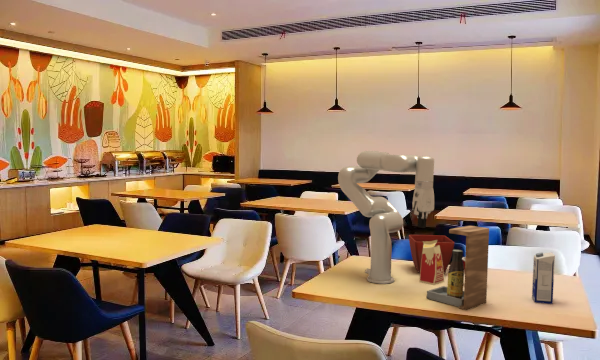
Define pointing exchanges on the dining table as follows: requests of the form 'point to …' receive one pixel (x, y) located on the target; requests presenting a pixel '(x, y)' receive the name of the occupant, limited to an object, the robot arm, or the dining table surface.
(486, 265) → the wooden c-shaped stand
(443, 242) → the plant pot
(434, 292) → the tray
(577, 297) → the dining table surface
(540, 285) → the milk carton
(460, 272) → the sauce bottle
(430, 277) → the milk carton
